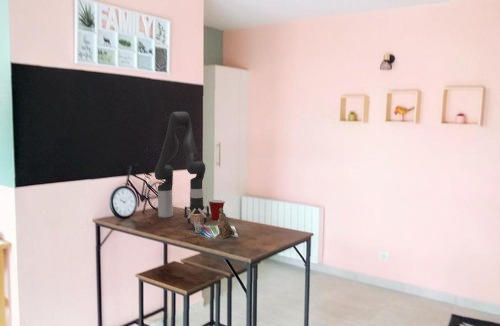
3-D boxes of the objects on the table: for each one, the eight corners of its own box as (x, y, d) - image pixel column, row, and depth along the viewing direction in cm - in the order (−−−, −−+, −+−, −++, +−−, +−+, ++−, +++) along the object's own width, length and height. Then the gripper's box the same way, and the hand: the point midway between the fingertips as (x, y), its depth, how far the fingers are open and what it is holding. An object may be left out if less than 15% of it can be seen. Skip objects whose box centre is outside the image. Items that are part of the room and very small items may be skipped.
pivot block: (193, 223, 257) (193, 215, 256) (198, 223, 257) (197, 215, 257) (193, 225, 253) (193, 216, 253) (198, 224, 254) (198, 216, 253)
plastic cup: (228, 218, 270) (228, 200, 269) (216, 221, 262) (216, 202, 261) (217, 216, 277) (217, 198, 276) (204, 219, 269) (204, 200, 268)
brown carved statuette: (222, 243, 224) (217, 212, 219) (214, 241, 227) (210, 210, 222) (236, 234, 233) (232, 203, 228) (228, 232, 236) (224, 202, 231)
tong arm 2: (196, 224, 253) (196, 218, 252) (198, 224, 253) (198, 218, 253) (198, 232, 235) (198, 225, 235) (200, 232, 235) (200, 225, 235)
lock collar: (191, 223, 256) (191, 208, 255) (199, 222, 257) (199, 208, 256) (191, 224, 253) (191, 209, 252) (200, 223, 254) (200, 209, 253)
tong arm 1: (193, 225, 252) (193, 218, 252) (195, 224, 253) (195, 218, 252) (195, 232, 235) (195, 225, 234) (198, 232, 235) (198, 225, 235)
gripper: (208, 194, 249) (208, 222, 250) (183, 195, 246) (184, 223, 247) (209, 197, 241) (209, 225, 243) (184, 197, 238) (184, 226, 240)
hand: (196, 224), depth 245 cm, fingers open, 8 cm apart
